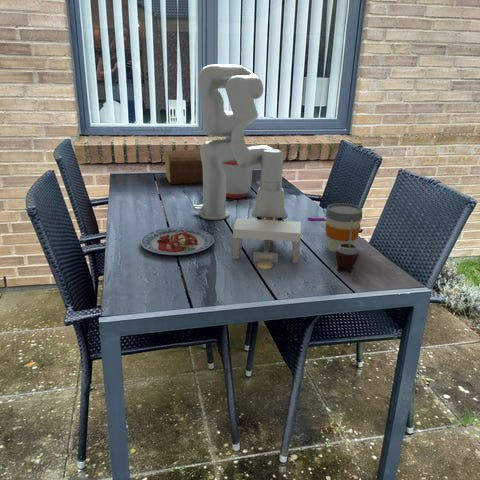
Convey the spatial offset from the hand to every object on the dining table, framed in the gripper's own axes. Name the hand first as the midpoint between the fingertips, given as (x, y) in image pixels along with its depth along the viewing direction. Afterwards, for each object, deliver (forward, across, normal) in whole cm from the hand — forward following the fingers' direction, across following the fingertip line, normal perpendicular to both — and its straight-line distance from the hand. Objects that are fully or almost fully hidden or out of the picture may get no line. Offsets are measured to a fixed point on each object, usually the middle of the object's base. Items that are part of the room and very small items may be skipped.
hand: (268, 233), depth 172 cm
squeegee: (+4, +20, +26) cm, 33 cm away
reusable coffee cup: (+3, +26, -3) cm, 26 cm away
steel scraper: (+3, 0, -8) cm, 9 cm away
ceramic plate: (+3, -32, -9) cm, 34 cm away
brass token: (+3, 0, -22) cm, 23 cm away
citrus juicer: (+3, -19, +57) cm, 60 cm away
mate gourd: (+3, +26, -20) cm, 33 cm away
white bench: (+3, 0, -12) cm, 13 cm away
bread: (+3, -44, +83) cm, 94 cm away
